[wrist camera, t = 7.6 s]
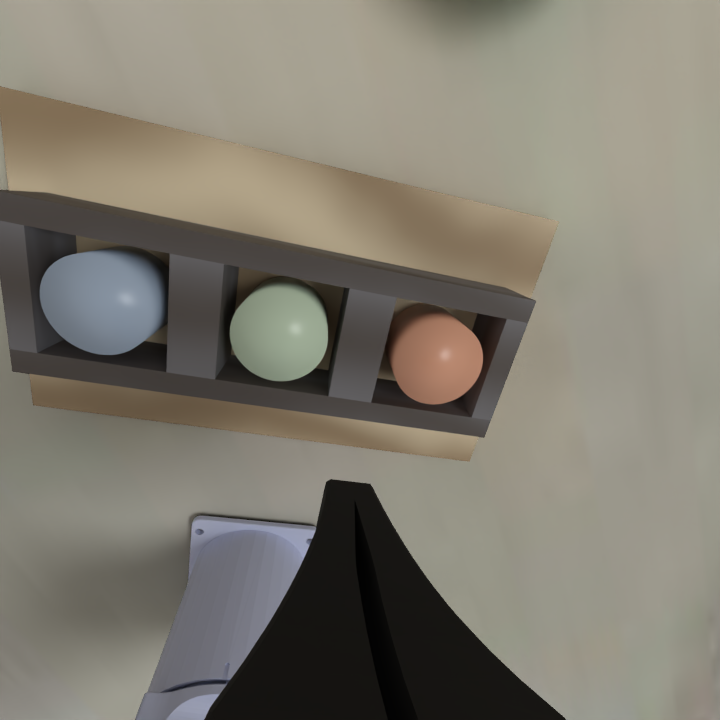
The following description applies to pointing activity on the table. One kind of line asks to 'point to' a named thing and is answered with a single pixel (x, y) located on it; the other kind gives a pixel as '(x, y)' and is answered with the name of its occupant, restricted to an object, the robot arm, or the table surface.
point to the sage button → (280, 329)
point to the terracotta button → (432, 354)
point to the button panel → (254, 278)
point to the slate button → (106, 298)
